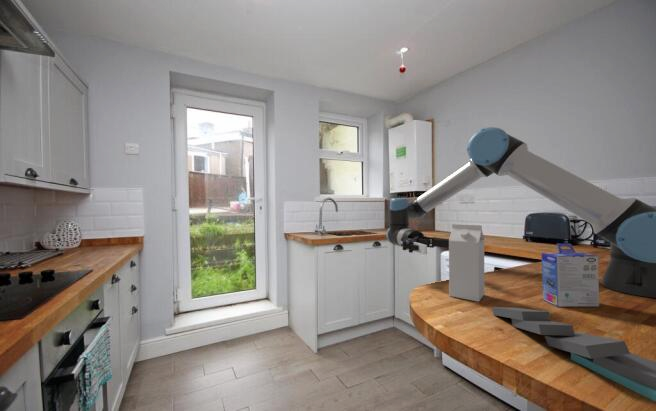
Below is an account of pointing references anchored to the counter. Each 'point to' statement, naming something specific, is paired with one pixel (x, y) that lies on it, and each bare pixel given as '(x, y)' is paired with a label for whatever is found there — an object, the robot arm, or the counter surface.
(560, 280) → the ink cartridge box
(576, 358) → the domino
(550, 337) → the domino
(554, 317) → the counter surface
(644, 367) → the domino
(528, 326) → the domino
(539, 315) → the domino
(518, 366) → the counter surface
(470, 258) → the milk carton
